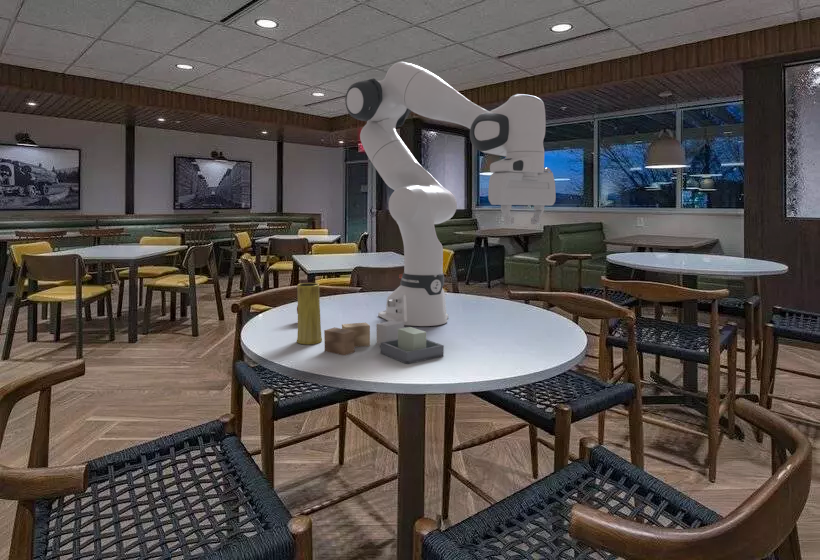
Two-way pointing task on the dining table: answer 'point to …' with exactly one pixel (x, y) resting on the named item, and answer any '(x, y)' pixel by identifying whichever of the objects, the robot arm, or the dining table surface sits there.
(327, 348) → the block walnut
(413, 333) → the block sage
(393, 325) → the block grey
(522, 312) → the dining table surface
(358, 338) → the block oak
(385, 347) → the slate dish
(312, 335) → the vase
